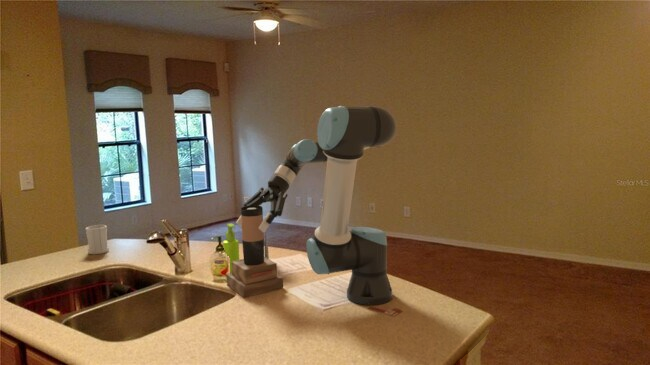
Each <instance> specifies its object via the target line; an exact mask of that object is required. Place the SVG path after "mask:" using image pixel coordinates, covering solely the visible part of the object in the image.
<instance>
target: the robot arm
mask: <svg viewBox="0 0 650 365" xmlns="http://www.w3.org/2000/svg"><path fill="white" fill-rule="evenodd" d="M397 129H398V127H397V122H396V119H395V116H394V115H393V114H392V113H391V111H388V110H387V109H385V108H383V107H381V106H376V105H374V106H373V105H370V106H365V105H364V106H363V105H362V106H344V105H339V106H332V107H328V108H326V109H325V110H324V111H323V112H322V114H321V116H320V117H319V120H318V123H317V131H316V135H317V141H314V140H312V139H309V138H308V139H307V138H304V139H302V140H300V141H298V142H297V143H295V144H293V146H292V147H291V148H290V149H289V150H288V153H287V154H286V155H285V157H284V159H283V160H282V162H281V163H280V164H279V165H278V167H277V168H276V169H275V171H274V173H273V175H272V176H271V177H270V178H269V180H268V181H267V188H266V189H265V188H264V187H263V186H261V187H260V188H259V190H258V191H257V192H256V193H255V194H253V195H252V196H250V197H251V198H248V200H246V203H245V202H244V203H243V204H242V207H245V206H259V205H261V206H262V204H264V203H270V210H269V212H267V213H266V215H265V217H263V221H262V223H261V224H260V226H259V227H258V228H259V229H260V230H261V231H262V232H263V233H264V234H265V232H267V229H268V228H269V226H270V225H271V224H272V223H273V221H274V219H275V218H277V217H281V216H282V215H283V212H284V206H285V203H286V199H287V198H288V193H287V191H288V190H289V189H290V186H291V185H292V184H293V182H294V180H295V178H296V177H297V176H298V174H299V173H300V171H301V170H302V168H303V167H304V166H306V165H307V164H315V163H317V164H319V163H326V169H325V179H324V186H323V187H324V188H323V195H322V196H323V197H322V207H321V216H320V224H319V225H320V226H317V227H316V229H314V236H313V237H310V238H308V239H307V241H306V245H305V246H306V255H307V258H308V262H309V265H310V267H311V269H312V271H313V272H314V273H316V274H317V275H330V274H334V273H340V272H348V271H351V275H350V279H349V283H348V286H347V288H346V298H347V299H348V300H349V301H350V302H352V303H355V304H358V305H363V306H374V305H375V306H376V305H377V306H378V305H383V304H386V303H388V302H390V301H391V300H392V299H393V288H392V287H391V281H390V279H389V276H388V263H387V262H388V256H387V255H388V251H387V250H388V249H387V248H388V241H387V234H386V233H385V232H384V231H383V230H381V229H379V228H375V227H367V226H354V227H352V228H351V229H350V231H349V221H350V214H351V207H352V200H353V199H352V198H353V192H354V183H355V177H356V173H357V172H356V170H357V165H358V164H357V163H358V161H359V160H361V159H362V158H363V156H364V151H365V150H368V149H369V148H380V147H383V146H386V145H387V144H389V143H391V142H392V141H393V139H394V138H395V137H396V134H397ZM247 204H248V205H247ZM235 222H236V224H237V225H238V226H240V227H241V228H242V221H241V215H240V216H239V217H238V219H237V220H236V221H235Z"/></svg>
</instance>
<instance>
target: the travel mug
mask: <svg viewBox="0 0 650 365" xmlns="http://www.w3.org/2000/svg"><path fill="white" fill-rule="evenodd" d="M240 216H241V221H242V227H241V242H242V243H241V244H242V253H243V259H244V264H246V265H251V266H253V265H260V264H262V263H264V257H265V243H264V242H265V232H264V233H263V232H262V231H261V230H260V229H259V228H258V227H259V226H260V224H261V223H262V221H263V220H264V212H263V206H262V205H261V206H245V207H244V206H242V207H241V208H240Z"/></svg>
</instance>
